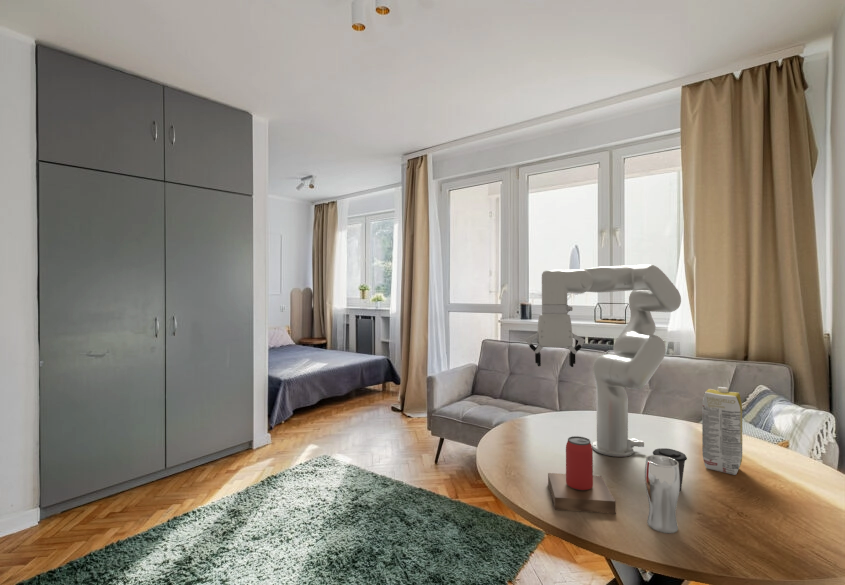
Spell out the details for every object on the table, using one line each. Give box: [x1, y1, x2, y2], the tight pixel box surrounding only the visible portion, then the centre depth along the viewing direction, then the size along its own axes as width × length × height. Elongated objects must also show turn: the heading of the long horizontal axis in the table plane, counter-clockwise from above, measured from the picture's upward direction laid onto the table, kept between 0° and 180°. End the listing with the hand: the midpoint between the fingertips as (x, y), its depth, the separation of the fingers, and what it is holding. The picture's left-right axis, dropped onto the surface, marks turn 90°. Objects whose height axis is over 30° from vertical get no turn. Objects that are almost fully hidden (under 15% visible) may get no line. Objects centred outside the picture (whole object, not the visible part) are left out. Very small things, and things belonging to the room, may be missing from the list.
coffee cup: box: [652, 448, 688, 493], centre depth 116 cm, size 8×8×10 cm
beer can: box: [565, 435, 594, 491], centre depth 111 cm, size 7×7×12 cm
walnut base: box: [547, 472, 617, 515], centre depth 111 cm, size 14×14×3 cm
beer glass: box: [644, 454, 680, 534], centre depth 98 cm, size 7×7×15 cm
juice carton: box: [701, 386, 743, 476], centre depth 127 cm, size 9×8×24 cm
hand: (555, 365), depth 132 cm, fingers open, 9 cm apart
